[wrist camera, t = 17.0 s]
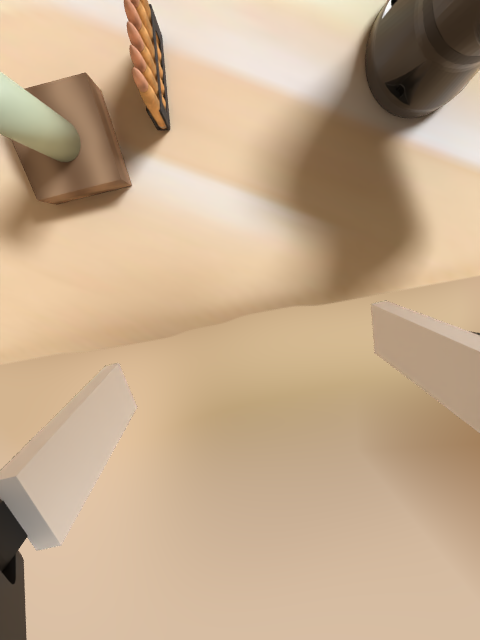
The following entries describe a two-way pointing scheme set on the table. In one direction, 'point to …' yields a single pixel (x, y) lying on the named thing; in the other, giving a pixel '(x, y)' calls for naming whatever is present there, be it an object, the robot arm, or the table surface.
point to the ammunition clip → (148, 60)
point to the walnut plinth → (95, 151)
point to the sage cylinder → (35, 123)
